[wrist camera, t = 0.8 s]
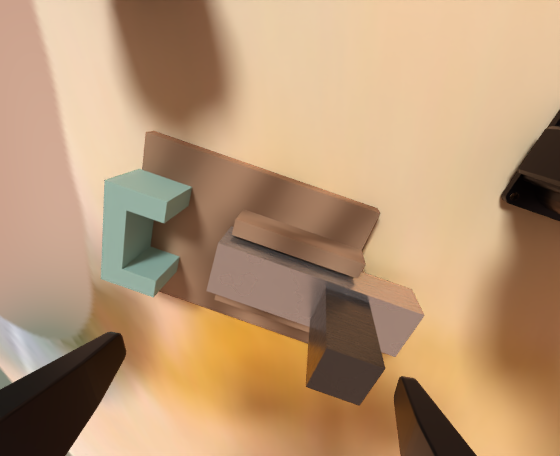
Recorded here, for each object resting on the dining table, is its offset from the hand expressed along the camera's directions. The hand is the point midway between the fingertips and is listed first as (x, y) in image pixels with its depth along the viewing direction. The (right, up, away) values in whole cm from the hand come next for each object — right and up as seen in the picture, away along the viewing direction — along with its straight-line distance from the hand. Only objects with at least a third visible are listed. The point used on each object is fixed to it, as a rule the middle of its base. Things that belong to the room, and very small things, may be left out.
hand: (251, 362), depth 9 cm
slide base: (-2, +3, +14) cm, 14 cm away
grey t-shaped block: (+3, 0, +12) cm, 13 cm away
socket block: (-8, +5, +14) cm, 17 cm away
